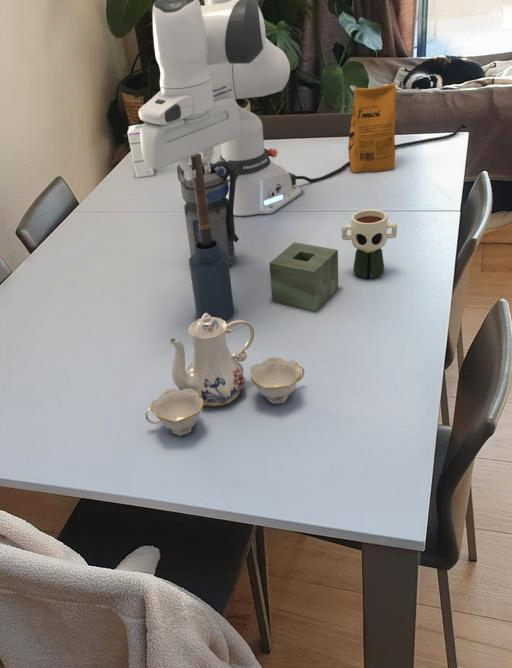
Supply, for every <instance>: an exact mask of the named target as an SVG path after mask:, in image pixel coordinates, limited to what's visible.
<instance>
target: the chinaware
mask: <svg viewBox="0 0 512 668" xmlns="http://www.w3.org/2000/svg"><path fill="white" fill-rule="evenodd" d="M235 325H245V326H247V328H248V330H249V336H248V340H247V342H246V343H245V344H244V346H243V347H241V348H240V349H239V350H237V351H235V352H234V353H233V354H232V353H231V351H230V350H229V347H228V346H227V345H228V344H227V340H226V334H233V333H234V329H233V327H232V326H235ZM187 329H188V333H189V335H190V336H191V339H192V341H193V348H194V349H193V350H194V351H193V356H192V360H191V362H190V364H189V366H188V368H187V369H186V353H185V346H184V344H183V343H182V341H181V340H179V339H177V338H170V339H169V340H168V343H171V344H172V345H173V346H174V348H175V350H174V357H173V362H172V363H173V364H172V368H171V378H172V381H173V383H174V386H176V387H177V389H175V388H170V389H169V388H168V389H165V390H164V391H163V392H162V393H160V395H159V397H158V398H157V399H154V400H153V401H152V403H151V404H150V408H148V409H147V410H146V412H145V419H146V421H147V422H148V423H150V424H153V425H157V424H159V423H161V425H162V427H163V428H166V429H168V430H170V431H171V433H172V434H174V435H178V436H181V437H182V436H184V435H186V434H189V433H191V432H192V428H193V427H194V426H195V425H196V423H197V421H198V419H199V418H200V413H201V410H202V409H203V407H204V406H205V407H211V408H213V407H223V406H225V405H229V404H230V403H233V402H234V401H235V400H236V399H237V398H239V396H240V395H241V390H242V388H244V386H245V385H246V378H245V375H244V367H243V366H242V364H241V363H240V362H245V361H246V360H247V358H248V353H247V352H246V351H247V350H248V349H249V348H250V346H251V345H252V343H253V341H254V339H255V331H254V327H253V325H252V324H250V323H249V322H248V321H246V320H244V319H236V320H232V321H230V322H228V323H227V321H224V320H222V319H221V318H216V317H211V316H210V315H209V314H208V313H204V315H203V316H202V318H201V319H198V318H197V320H195V321H193V322H192V323H191V324H190V325H188V328H187ZM304 376H305V369H304V368H303V367H302V366H301V365H299V363H298V361H294V360H284V359H283V358H281V357H274V356H273V357H270V358H267V359H266V360H264V361H263V362H262V363H256V364H254V365H252V366H251V368H250V380H251V383H252V384H253V385H254V386H255V387H256V388H257V390H258V392H259V393H260V394H261V395H262V396H263V397H265V398H266V399H267V401H268V402H270V403H271V404H283V403H285V402H286V401H287V399H288V398H289V396H291V394H292V393H293V392H294V391H295V388H296V387H297V383H299V382H301V380H302V379H303V377H304ZM149 412H152V413H153V414H154V416H155V417H156V418H157V419H158V421H153V420H151V419H149V417H148V413H149Z"/></svg>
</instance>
